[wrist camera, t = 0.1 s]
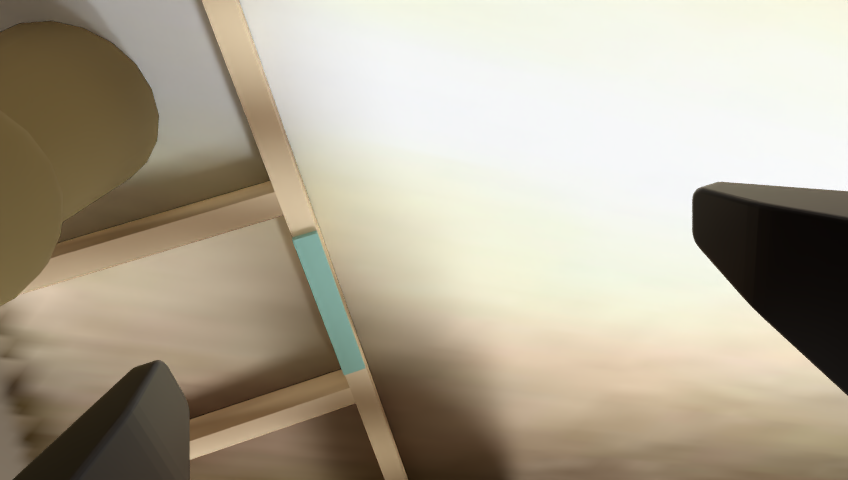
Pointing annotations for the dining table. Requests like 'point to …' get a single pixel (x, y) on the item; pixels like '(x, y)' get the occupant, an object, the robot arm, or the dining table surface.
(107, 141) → the cork
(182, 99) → the dining table surface
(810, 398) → the dining table surface
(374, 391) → the notch rack
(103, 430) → the robot arm
